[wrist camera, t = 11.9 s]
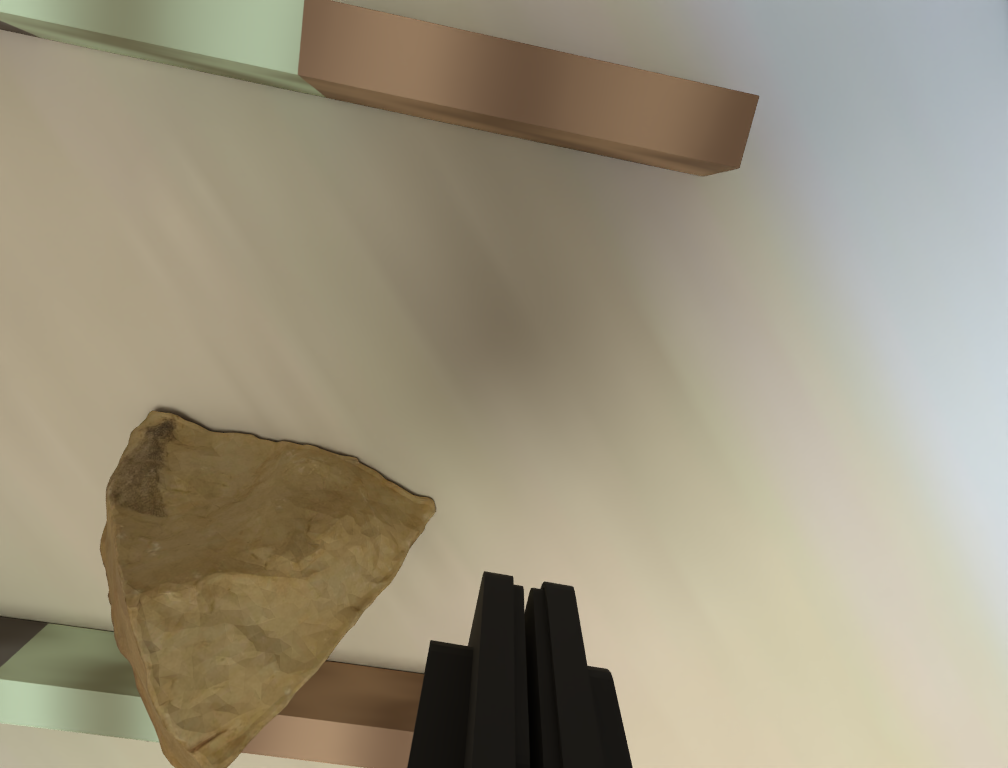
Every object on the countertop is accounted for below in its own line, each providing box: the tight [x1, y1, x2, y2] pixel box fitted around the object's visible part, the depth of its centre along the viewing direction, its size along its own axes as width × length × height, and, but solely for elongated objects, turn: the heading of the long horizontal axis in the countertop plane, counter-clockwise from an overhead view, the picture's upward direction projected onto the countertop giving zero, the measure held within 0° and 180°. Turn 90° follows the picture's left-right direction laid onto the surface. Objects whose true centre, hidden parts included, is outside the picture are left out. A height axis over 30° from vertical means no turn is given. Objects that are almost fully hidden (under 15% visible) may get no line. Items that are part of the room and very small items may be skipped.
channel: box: [0, 0, 759, 768], centre depth 20 cm, size 28×26×3 cm
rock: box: [100, 411, 436, 768], centre depth 20 cm, size 11×9×10 cm
